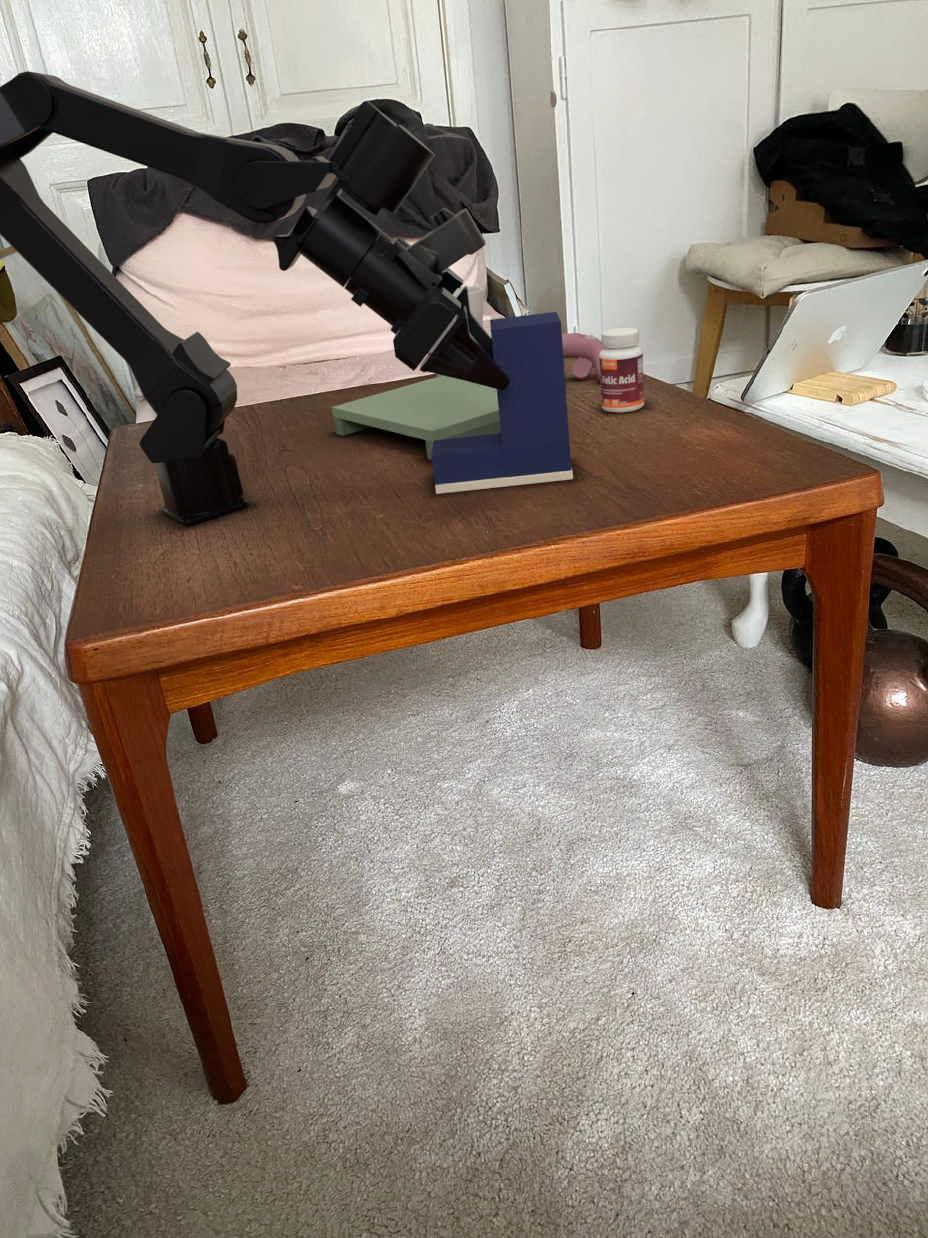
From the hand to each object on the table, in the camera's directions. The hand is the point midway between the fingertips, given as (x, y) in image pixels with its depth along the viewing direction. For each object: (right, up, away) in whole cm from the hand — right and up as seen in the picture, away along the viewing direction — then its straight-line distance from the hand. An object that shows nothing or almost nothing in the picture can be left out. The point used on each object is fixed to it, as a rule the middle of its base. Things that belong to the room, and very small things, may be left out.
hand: (505, 373), depth 85 cm
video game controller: (+10, +8, +36) cm, 38 cm away
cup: (-4, +9, +40) cm, 42 cm away
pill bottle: (+14, +2, +22) cm, 26 cm away
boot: (0, -9, +4) cm, 10 cm away
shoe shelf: (-6, 0, +23) cm, 24 cm away
